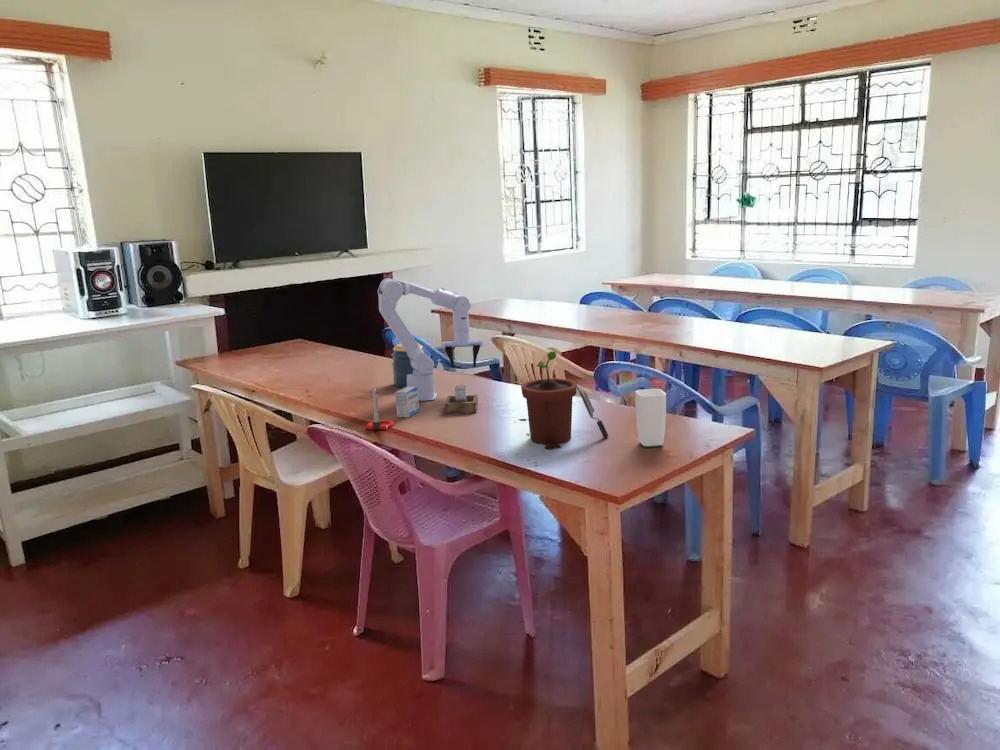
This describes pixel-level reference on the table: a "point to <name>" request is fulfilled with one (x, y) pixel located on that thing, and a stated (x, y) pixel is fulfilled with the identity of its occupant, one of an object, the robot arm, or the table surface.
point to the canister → (401, 365)
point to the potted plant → (553, 408)
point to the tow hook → (377, 423)
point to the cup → (651, 416)
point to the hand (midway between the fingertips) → (463, 366)
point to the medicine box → (407, 401)
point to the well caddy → (461, 405)
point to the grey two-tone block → (461, 393)
